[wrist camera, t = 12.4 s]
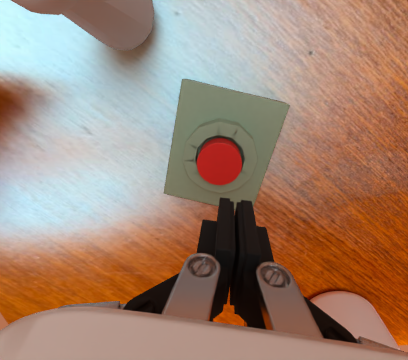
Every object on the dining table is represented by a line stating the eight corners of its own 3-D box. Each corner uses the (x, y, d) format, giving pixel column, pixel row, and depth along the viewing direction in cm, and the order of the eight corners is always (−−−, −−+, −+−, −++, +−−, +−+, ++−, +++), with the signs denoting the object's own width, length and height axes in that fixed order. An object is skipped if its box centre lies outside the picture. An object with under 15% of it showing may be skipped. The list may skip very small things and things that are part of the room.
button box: (185, 78, 23) (178, 79, 19) (284, 102, 23) (295, 107, 19) (168, 185, 28) (159, 201, 24) (248, 204, 28) (252, 223, 24)
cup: (369, 330, 35) (419, 420, 26) (300, 334, 37) (325, 419, 28) (372, 282, 31) (431, 367, 22) (294, 289, 33) (320, 371, 24)
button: (203, 133, 21) (201, 138, 20) (246, 143, 21) (247, 148, 20) (195, 172, 23) (192, 179, 21) (234, 181, 23) (235, 189, 21)
